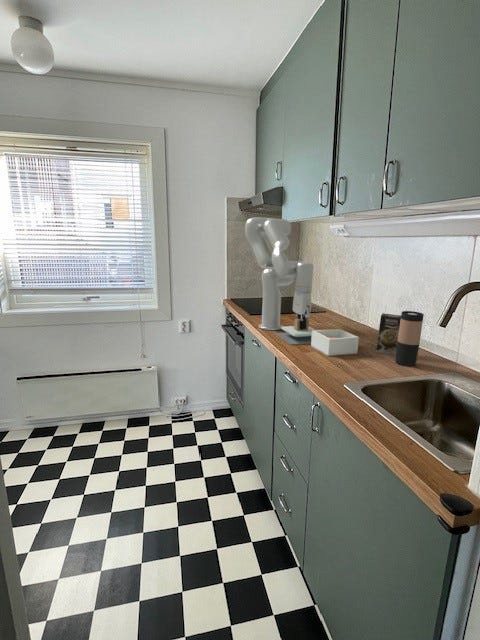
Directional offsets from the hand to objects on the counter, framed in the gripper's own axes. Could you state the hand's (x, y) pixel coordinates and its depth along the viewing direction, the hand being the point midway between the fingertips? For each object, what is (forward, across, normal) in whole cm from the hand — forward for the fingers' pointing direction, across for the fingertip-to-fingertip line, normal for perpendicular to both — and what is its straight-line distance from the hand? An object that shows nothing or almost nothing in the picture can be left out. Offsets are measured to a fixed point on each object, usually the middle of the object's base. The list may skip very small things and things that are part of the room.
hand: (300, 327), depth 162 cm
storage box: (+5, +19, +6) cm, 21 cm away
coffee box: (+6, +28, +27) cm, 39 cm away
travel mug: (+6, +41, +24) cm, 48 cm away
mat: (+5, 0, 0) cm, 5 cm away
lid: (+2, 0, 0) cm, 2 cm away
